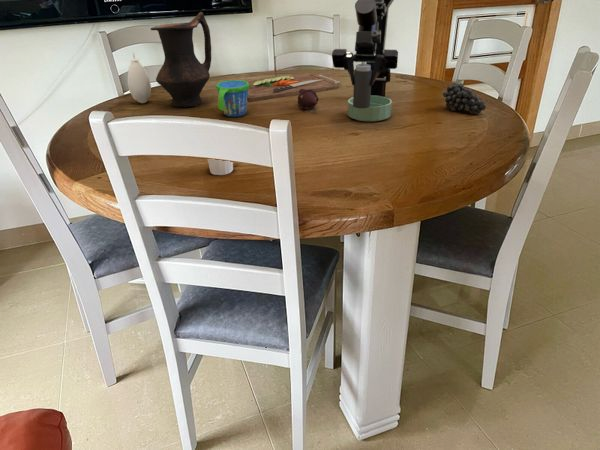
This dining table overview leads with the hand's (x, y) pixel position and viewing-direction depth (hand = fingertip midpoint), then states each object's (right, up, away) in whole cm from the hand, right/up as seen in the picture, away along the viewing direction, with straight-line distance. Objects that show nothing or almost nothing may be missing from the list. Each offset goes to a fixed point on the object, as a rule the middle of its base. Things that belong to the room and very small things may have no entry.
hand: (361, 84), depth 132 cm
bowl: (+5, -5, +19) cm, 20 cm away
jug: (-58, +4, +36) cm, 69 cm away
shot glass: (-37, -27, -18) cm, 49 cm away
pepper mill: (0, -5, +4) cm, 7 cm away
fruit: (+36, -3, +21) cm, 42 cm away
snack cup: (-40, -3, +24) cm, 46 cm away
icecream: (-15, 0, +27) cm, 31 cm away
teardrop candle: (-76, +5, +39) cm, 86 cm away
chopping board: (-25, +15, +55) cm, 62 cm away
